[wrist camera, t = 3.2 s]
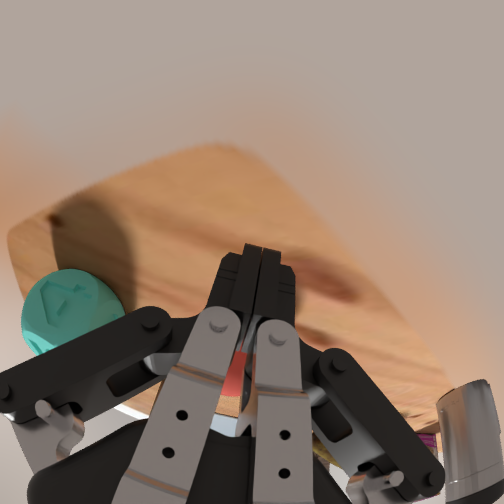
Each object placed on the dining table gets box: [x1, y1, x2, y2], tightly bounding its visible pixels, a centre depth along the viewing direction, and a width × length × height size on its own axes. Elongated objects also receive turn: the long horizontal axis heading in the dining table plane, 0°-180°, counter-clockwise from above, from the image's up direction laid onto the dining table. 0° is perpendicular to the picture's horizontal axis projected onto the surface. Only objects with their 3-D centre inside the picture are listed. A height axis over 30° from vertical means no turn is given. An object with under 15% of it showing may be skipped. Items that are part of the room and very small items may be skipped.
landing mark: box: [210, 413, 238, 437], centre depth 41 cm, size 14×14×1 cm
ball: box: [221, 341, 247, 396], centre depth 21 cm, size 6×6×6 cm
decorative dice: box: [21, 269, 125, 356], centre depth 21 cm, size 8×8×8 cm
